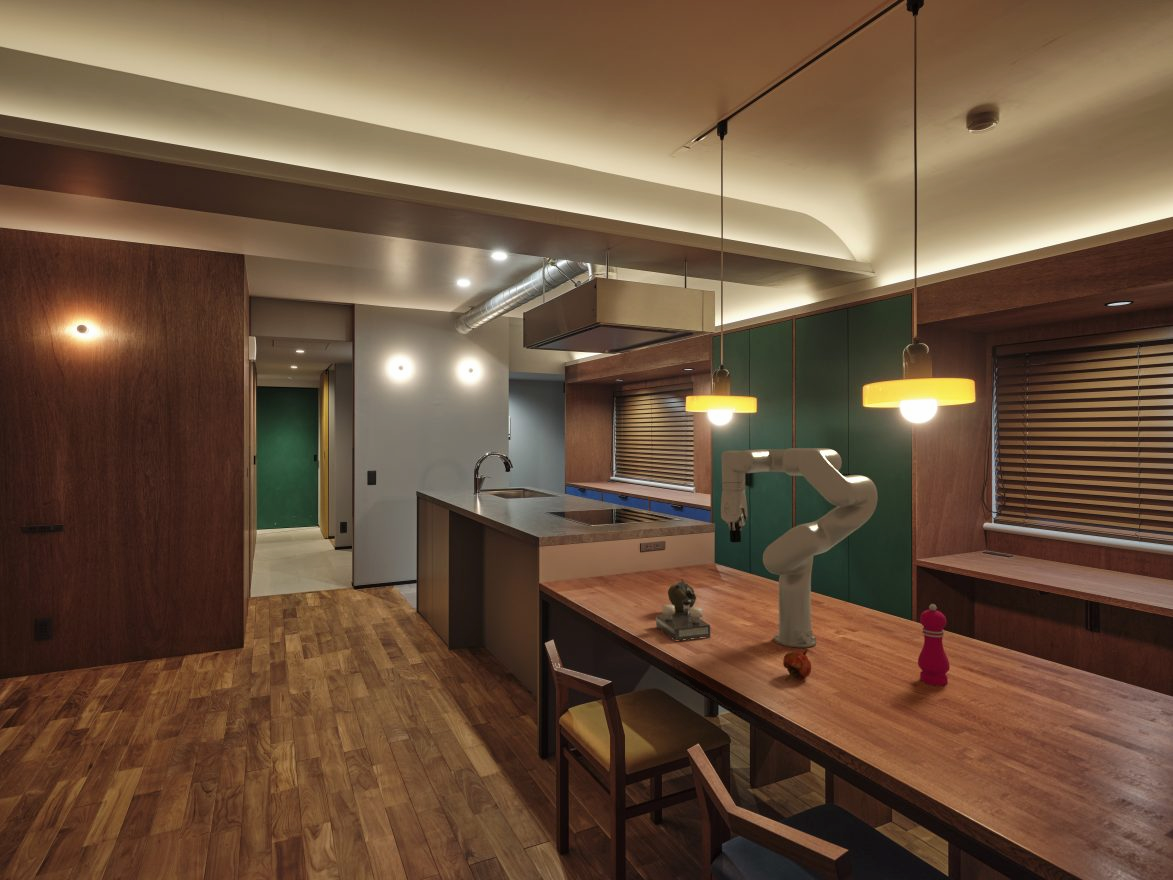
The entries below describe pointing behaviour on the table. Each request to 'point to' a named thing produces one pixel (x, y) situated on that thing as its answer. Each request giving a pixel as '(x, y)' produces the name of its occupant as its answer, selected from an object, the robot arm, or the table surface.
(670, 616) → the knob
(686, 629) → the mount
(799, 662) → the red round fruit
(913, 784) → the table surface
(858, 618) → the table surface
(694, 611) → the knob
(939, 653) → the pepper mill
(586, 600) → the table surface
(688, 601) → the dark brown round knob
